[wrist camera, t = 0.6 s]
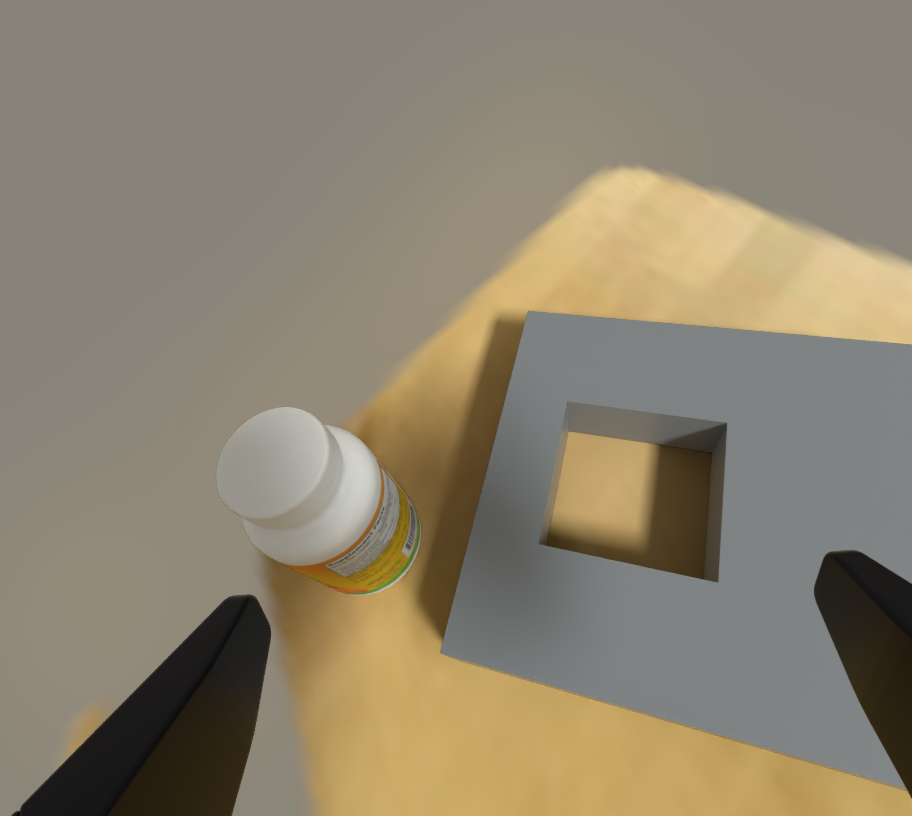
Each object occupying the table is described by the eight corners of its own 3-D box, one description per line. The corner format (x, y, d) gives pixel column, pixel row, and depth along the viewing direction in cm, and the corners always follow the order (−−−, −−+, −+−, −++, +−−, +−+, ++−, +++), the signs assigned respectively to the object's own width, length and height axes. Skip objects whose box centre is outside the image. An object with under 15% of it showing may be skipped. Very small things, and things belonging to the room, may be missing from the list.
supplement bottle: (296, 535, 27) (169, 456, 19) (382, 465, 28) (297, 360, 20) (353, 624, 24) (236, 578, 16) (446, 543, 25) (380, 461, 17)
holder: (912, 792, 18) (967, 805, 16) (456, 659, 23) (440, 652, 20) (879, 382, 25) (913, 344, 22) (532, 345, 30) (527, 310, 27)
